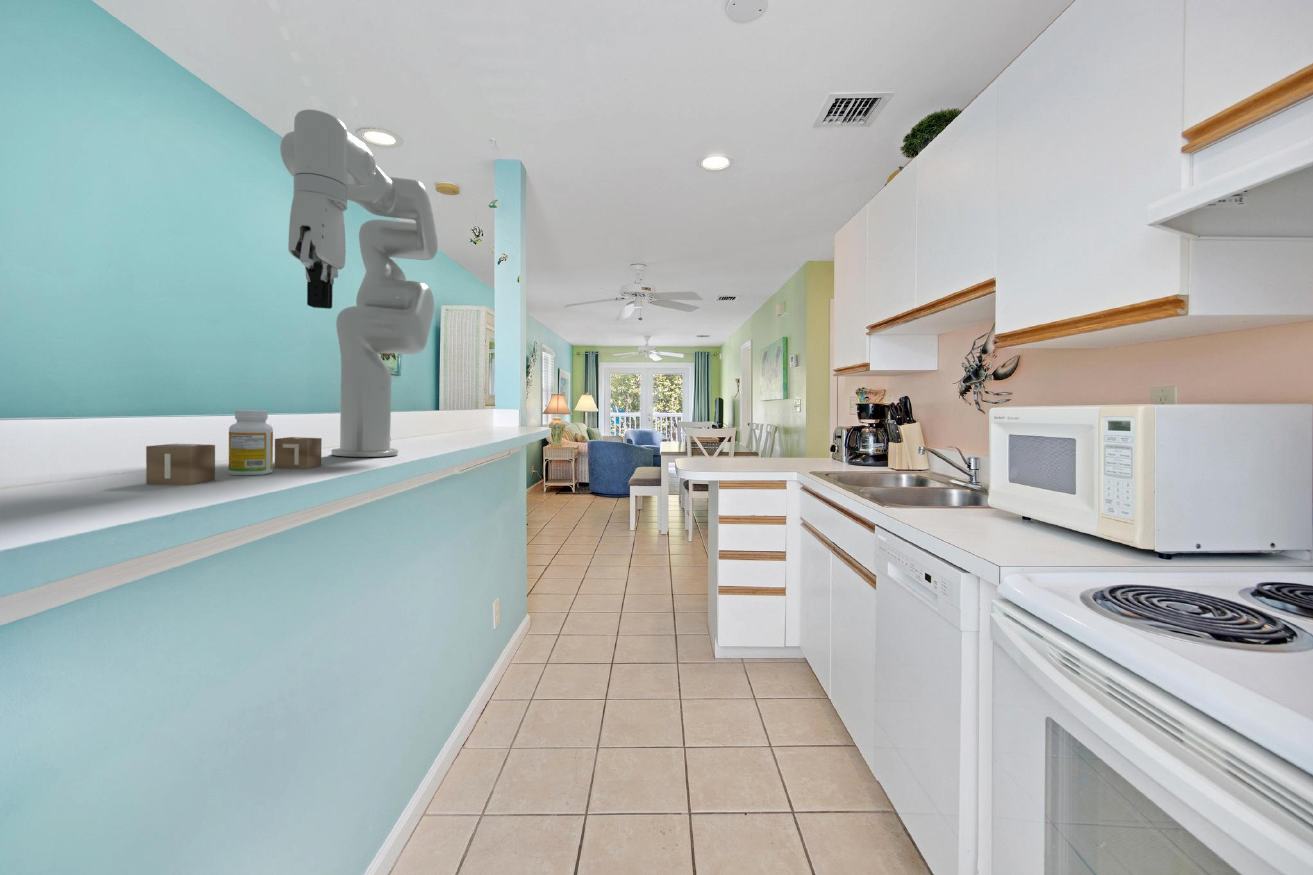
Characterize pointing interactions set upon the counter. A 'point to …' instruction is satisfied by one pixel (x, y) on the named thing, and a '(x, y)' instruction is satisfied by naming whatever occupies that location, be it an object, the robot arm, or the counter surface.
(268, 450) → the supplement bottle
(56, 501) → the counter surface
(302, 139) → the robot arm
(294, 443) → the walnut block
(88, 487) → the counter surface
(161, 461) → the walnut block
